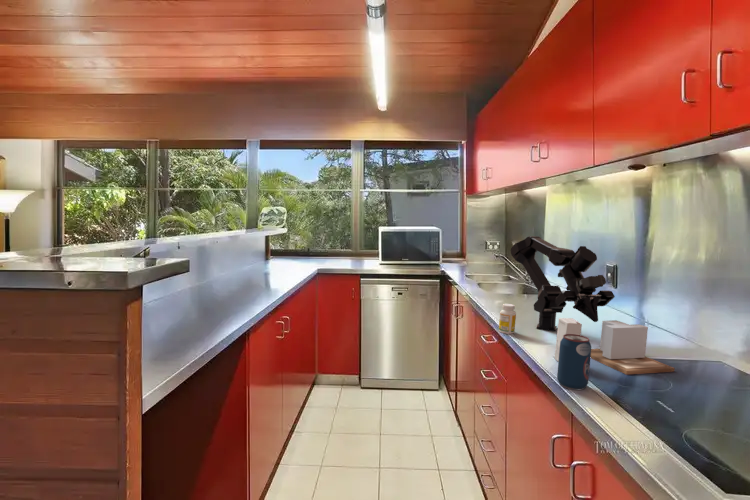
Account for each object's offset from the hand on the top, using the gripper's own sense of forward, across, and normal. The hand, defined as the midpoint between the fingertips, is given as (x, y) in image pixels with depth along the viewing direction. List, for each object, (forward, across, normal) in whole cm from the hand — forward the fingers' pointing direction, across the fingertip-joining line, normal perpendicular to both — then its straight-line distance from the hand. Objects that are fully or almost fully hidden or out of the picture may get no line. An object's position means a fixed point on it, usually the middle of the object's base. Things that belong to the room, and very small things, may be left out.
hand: (596, 321), depth 140 cm
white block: (+12, 0, -1) cm, 12 cm away
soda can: (+24, -28, -12) cm, 39 cm away
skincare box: (+14, -18, -1) cm, 23 cm away
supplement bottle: (-8, -18, +21) cm, 29 cm away
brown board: (+15, 0, -2) cm, 15 cm away
